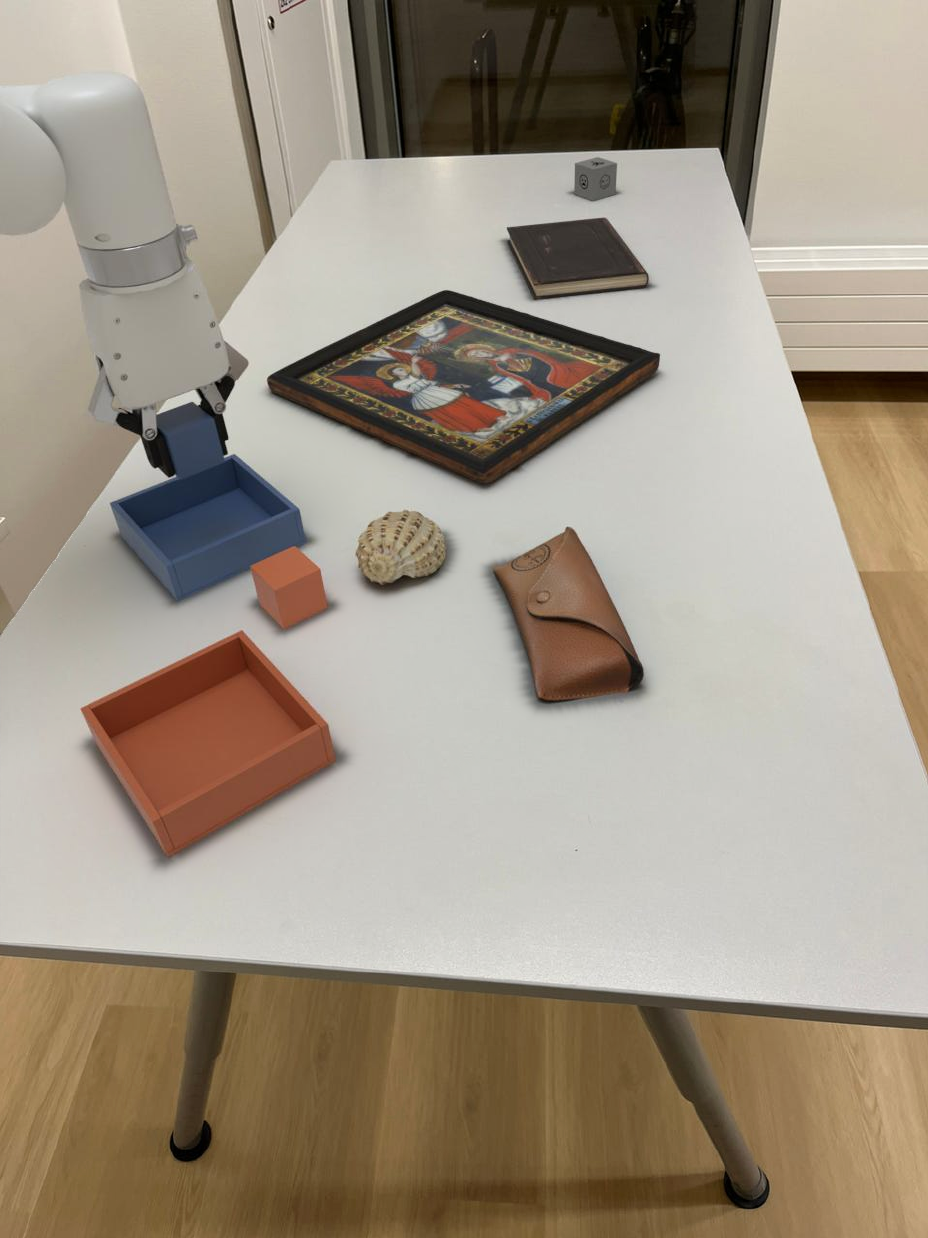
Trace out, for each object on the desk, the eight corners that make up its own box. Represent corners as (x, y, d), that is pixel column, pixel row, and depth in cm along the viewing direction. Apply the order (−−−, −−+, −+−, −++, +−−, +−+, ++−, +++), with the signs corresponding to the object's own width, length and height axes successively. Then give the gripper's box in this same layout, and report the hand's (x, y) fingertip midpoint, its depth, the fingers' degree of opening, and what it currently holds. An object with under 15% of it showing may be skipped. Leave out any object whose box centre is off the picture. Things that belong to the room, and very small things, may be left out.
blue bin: (178, 602, 84) (166, 566, 82) (121, 536, 93) (109, 502, 90) (306, 543, 90) (299, 508, 88) (242, 486, 98) (234, 453, 96)
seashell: (368, 566, 92) (353, 591, 82) (363, 504, 90) (347, 522, 80) (448, 563, 91) (443, 588, 82) (445, 501, 90) (439, 518, 80)
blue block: (180, 480, 83) (167, 436, 81) (160, 461, 86) (146, 417, 83) (225, 462, 85) (214, 418, 82) (204, 443, 88) (192, 400, 85)
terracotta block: (283, 630, 81) (274, 590, 78) (259, 605, 84) (249, 565, 81) (328, 608, 83) (320, 568, 80) (303, 584, 85) (294, 545, 83)
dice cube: (592, 200, 161) (593, 169, 157) (574, 193, 164) (574, 162, 161) (615, 194, 163) (617, 162, 159) (596, 187, 166) (597, 156, 163)
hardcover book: (534, 299, 131) (534, 283, 129) (507, 242, 148) (506, 226, 147) (648, 287, 132) (649, 270, 130) (607, 231, 149) (608, 216, 148)
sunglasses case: (485, 564, 85) (521, 505, 82) (550, 584, 88) (587, 528, 85) (538, 705, 72) (584, 641, 68) (612, 723, 75) (660, 662, 71)
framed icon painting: (243, 407, 111) (238, 384, 110) (425, 300, 132) (424, 280, 130) (514, 501, 94) (513, 476, 92) (675, 361, 114) (677, 338, 113)
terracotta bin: (168, 858, 64) (152, 822, 61) (96, 744, 72) (79, 708, 69) (336, 761, 69) (328, 724, 67) (252, 666, 78) (241, 629, 75)
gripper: (211, 218, 80) (255, 413, 92) (10, 274, 72) (87, 478, 84) (253, 240, 75) (294, 442, 87) (42, 302, 68) (119, 514, 80)
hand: (191, 458), depth 86 cm, fingers closed on blue block, 4 cm apart
